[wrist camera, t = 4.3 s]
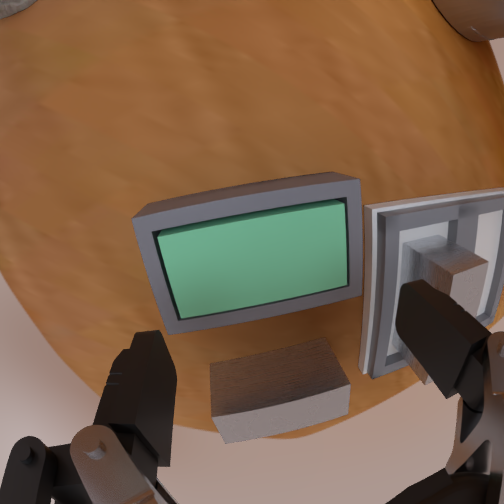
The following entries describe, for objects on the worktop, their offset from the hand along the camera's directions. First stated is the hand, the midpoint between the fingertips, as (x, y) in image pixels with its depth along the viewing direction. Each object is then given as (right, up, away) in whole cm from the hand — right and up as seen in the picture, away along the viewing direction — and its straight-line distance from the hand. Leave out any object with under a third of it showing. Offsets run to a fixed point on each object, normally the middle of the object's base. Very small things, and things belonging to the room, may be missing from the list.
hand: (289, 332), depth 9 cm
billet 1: (+1, -8, +15) cm, 17 cm away
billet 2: (+13, -1, +13) cm, 18 cm away
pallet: (+17, 0, +14) cm, 23 cm away
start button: (-1, +2, +8) cm, 8 cm away
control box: (-1, +3, +11) cm, 11 cm away
